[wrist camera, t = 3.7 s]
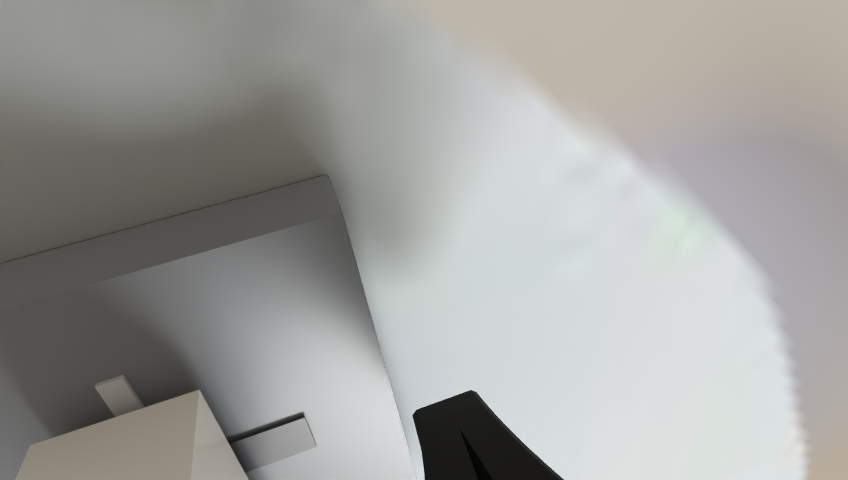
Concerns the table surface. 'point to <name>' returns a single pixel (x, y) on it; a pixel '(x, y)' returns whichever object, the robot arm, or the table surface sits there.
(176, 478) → the fader tab
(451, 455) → the robot arm
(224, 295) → the console
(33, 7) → the table surface
